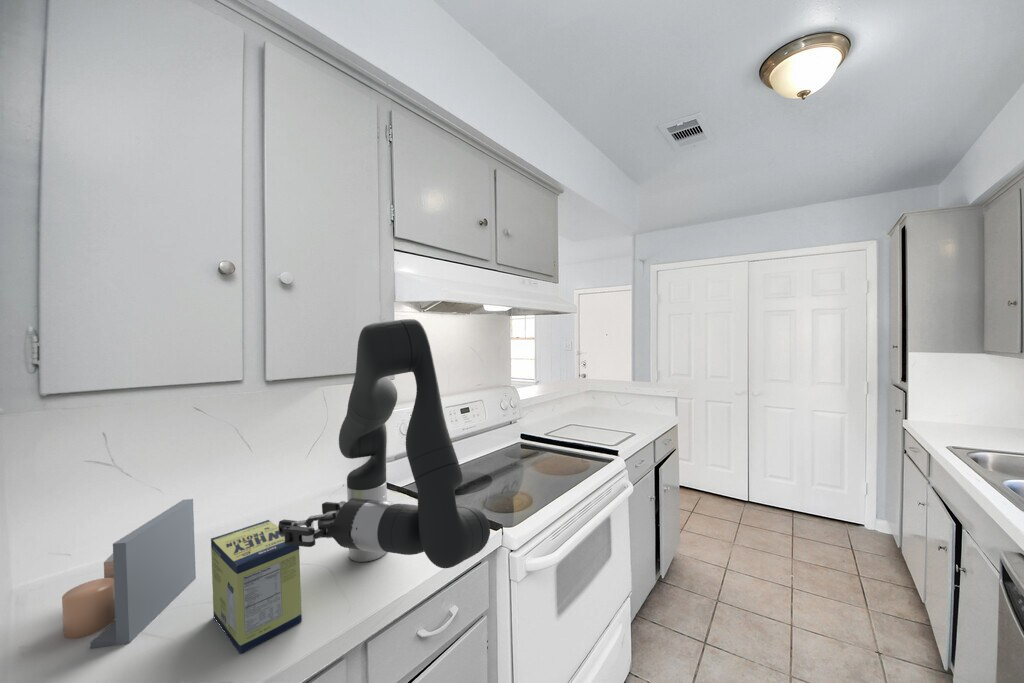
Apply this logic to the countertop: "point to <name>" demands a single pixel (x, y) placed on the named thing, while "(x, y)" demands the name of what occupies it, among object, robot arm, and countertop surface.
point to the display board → (150, 572)
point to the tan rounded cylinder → (88, 608)
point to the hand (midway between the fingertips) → (303, 517)
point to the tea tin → (109, 568)
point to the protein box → (255, 584)
